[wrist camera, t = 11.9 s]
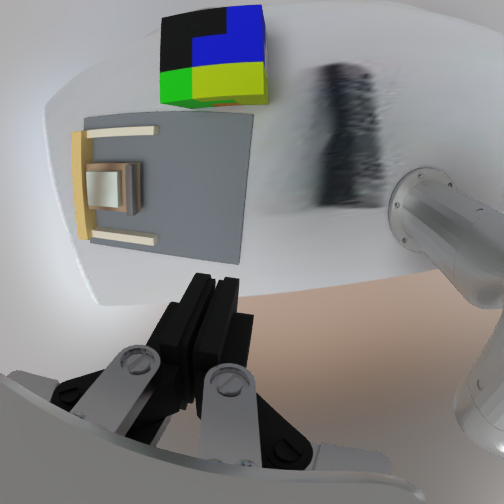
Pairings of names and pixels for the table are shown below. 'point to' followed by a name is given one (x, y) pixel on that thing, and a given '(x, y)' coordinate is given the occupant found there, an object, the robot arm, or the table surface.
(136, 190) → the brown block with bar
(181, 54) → the puzzle toy
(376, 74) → the table surface
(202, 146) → the mat
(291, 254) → the table surface
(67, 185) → the table surface
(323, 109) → the table surface
